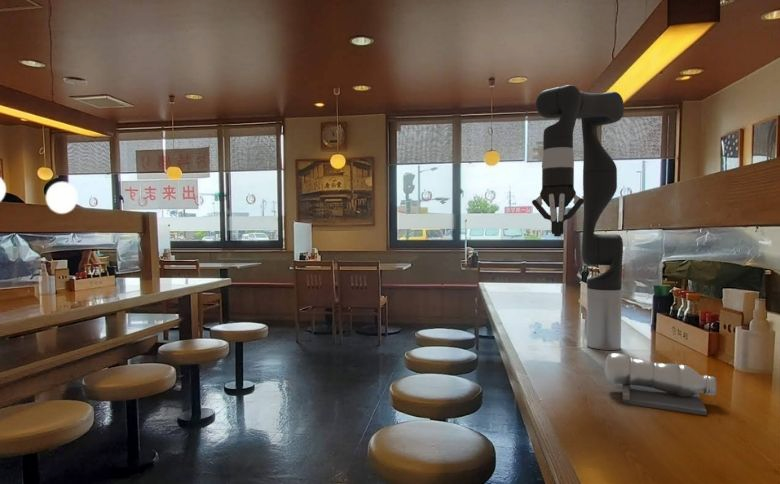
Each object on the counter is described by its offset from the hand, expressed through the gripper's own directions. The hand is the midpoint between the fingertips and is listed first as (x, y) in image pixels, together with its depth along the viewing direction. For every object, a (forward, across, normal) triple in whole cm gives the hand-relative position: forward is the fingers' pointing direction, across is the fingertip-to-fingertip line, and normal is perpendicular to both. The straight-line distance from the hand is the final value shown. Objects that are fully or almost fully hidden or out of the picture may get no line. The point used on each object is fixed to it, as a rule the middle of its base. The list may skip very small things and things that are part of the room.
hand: (557, 236), depth 117 cm
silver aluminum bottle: (+28, -11, +14) cm, 33 cm away
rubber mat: (+33, -22, +14) cm, 42 cm away
